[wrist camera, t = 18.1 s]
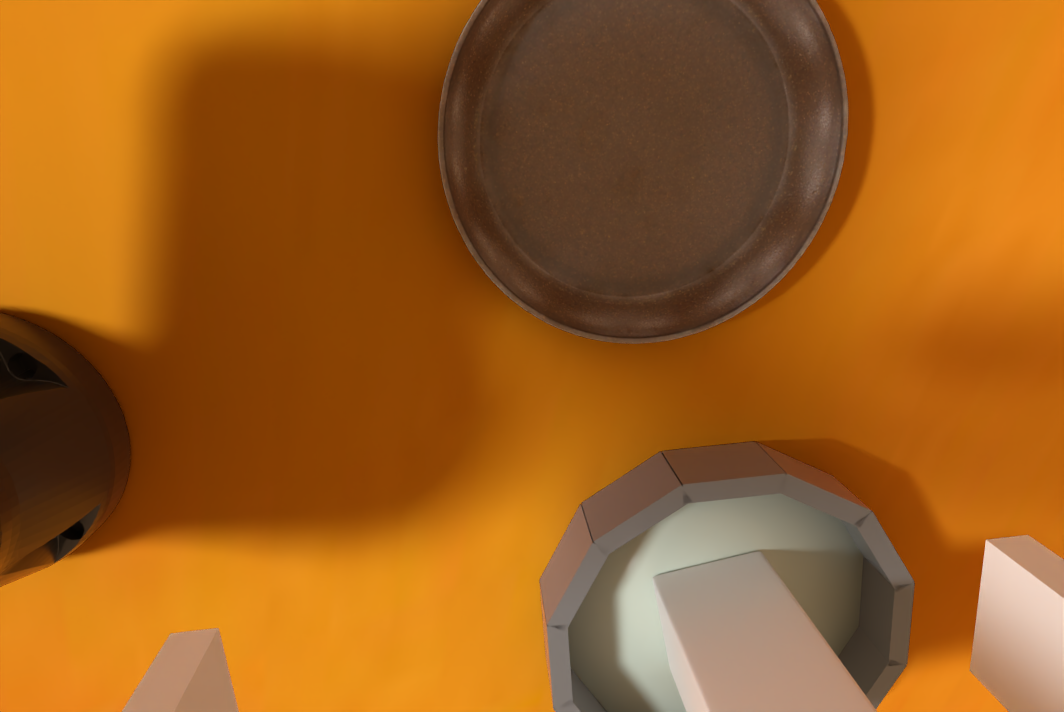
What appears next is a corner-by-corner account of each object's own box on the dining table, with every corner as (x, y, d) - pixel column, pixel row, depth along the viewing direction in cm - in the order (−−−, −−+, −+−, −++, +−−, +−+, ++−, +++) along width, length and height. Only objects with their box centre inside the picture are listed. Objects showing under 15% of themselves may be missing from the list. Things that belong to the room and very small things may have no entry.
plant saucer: (612, 399, 42) (623, 420, 39) (357, 132, 37) (346, 130, 33) (889, 157, 39) (925, 158, 36) (657, -170, 34) (676, -203, 31)
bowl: (554, 754, 49) (561, 812, 44) (529, 464, 42) (536, 500, 38) (860, 714, 50) (897, 767, 46) (881, 428, 44) (926, 458, 39)
